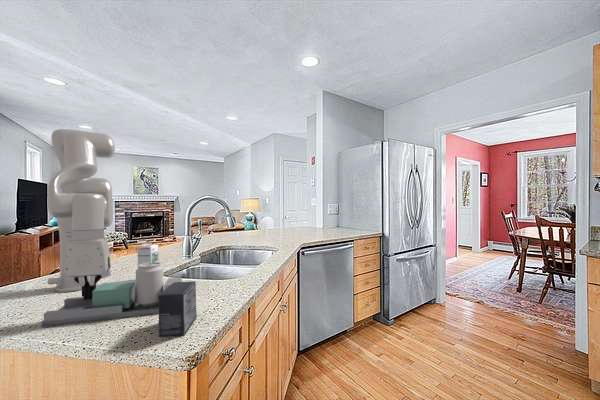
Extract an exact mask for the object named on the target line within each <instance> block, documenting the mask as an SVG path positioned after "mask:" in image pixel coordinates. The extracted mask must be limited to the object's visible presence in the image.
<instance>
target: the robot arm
mask: <svg viewBox="0 0 600 400" xmlns="http://www.w3.org/2000/svg"><path fill="white" fill-rule="evenodd" d="M50 140H51V145H52V149H53V152H54V154H55V156H56V158H57V160H58V163H59V165H60V170H59V171H58V172H56V173H55V174H54V175H53V176H52V177H51V179H50V180H49V182H48V185H47V209H48V214H49V215H51V217H54V218H56V222H57V228H58V234H59V235H58V236H59V277H51V278H50V277H49V278H48V279H47V284H48V285H56V286H55V287H54V291H55V292H57V293H59V292H60V293H67V292H68V293H69V292H76V291H77V292H78V291H81V297H83V300H87V299H88V300H91V299H92V291H93V290H95V289H96V288H97V283H98V282H99V281H101V280H102V279H106V278H108V277H110V276H111V275H112V273H111V253H110V247H109V243H108V240H107V238H105V229H106V228H110V226H112V224H113V220H114V210H113V208H114V205H113V203H114V202H113V188H112V184H111V182H110V181H109V180H108V179H106V178H102V177H93V176H95V175H96V174H97V172H98V162H97V158H102V159H103V158H104V159H110V158H113V157H114V154H115V151H116V149H115V148H116V146H115V142H114V139H113V138H112V137H111V135H108V134H106V133H101V132H100V133H99V132H92V131H85V130H78V129H69V128H60V129H59V128H58V129H55V130H53V131H52V133H51V139H50Z"/></svg>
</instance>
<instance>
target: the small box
mask: <svg viewBox="0 0 600 400" xmlns="http://www.w3.org/2000/svg"><path fill="white" fill-rule="evenodd" d="M196 287H197V283H196V281H193V280H191V281H182V282H174V283H172V284H171V285H170V286H169V287H168V288H166V289H165V290H164V291H163V292H161V293H160V294H159V295H158V304H159V314H158V336H159V338H162V337H163V338H164V337H166V338H167V337H181V336H182V337H183V336H186V334H187V333H188V331H189V330H190V328H191V327H192V326H193V324H194V323H195V321H196V319H197V316H198V315H197V290H196V289H197V288H196Z"/></svg>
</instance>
